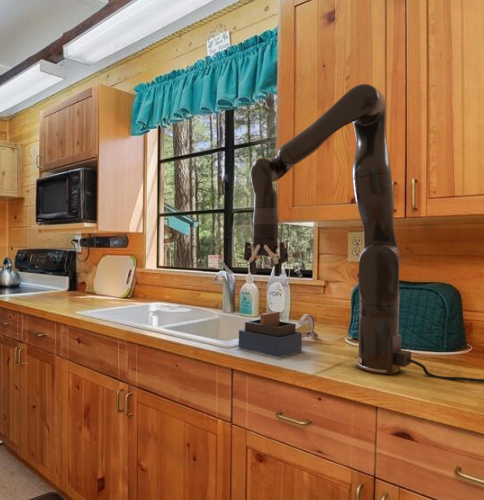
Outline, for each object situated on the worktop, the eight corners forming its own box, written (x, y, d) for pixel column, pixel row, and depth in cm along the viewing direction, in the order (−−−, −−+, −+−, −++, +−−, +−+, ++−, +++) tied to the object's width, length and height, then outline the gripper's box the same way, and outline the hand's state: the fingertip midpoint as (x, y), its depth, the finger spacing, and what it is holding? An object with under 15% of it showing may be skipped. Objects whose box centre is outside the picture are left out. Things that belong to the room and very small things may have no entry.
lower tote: (301, 352, 132) (301, 332, 132) (278, 359, 124) (279, 338, 124) (261, 343, 143) (261, 325, 142) (238, 349, 135) (238, 329, 134)
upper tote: (295, 350, 132) (296, 314, 132) (277, 355, 126) (278, 317, 125) (262, 342, 141) (263, 309, 140) (244, 347, 134) (245, 312, 134)
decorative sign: (290, 355, 140) (287, 325, 139) (286, 354, 141) (283, 325, 140) (318, 337, 151) (316, 310, 150) (315, 337, 152) (312, 309, 151)
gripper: (239, 223, 138) (239, 274, 139) (279, 222, 128) (279, 277, 128) (253, 224, 143) (252, 273, 144) (293, 223, 133) (292, 276, 133)
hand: (265, 275), depth 136 cm, fingers open, 8 cm apart
